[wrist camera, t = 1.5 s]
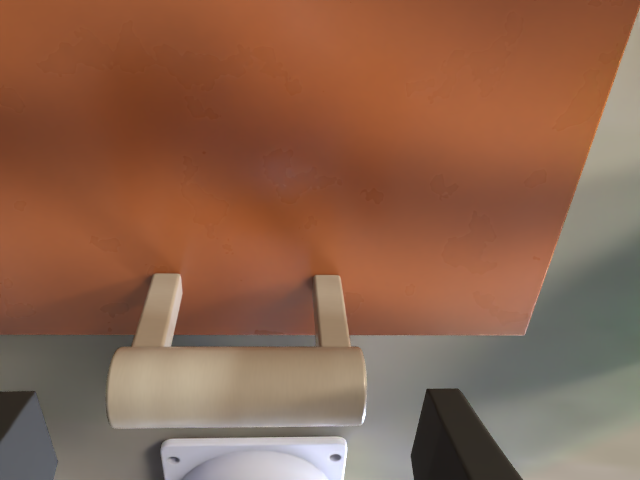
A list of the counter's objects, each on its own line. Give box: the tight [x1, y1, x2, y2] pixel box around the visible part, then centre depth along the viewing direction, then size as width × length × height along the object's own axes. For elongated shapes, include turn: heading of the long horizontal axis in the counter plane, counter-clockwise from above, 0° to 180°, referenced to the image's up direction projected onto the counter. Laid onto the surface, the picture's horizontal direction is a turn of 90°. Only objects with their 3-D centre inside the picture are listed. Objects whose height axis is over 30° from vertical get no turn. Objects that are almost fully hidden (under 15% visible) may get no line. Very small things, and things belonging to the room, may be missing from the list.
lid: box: [0, 0, 640, 429], centre depth 11 cm, size 10×16×5 cm
